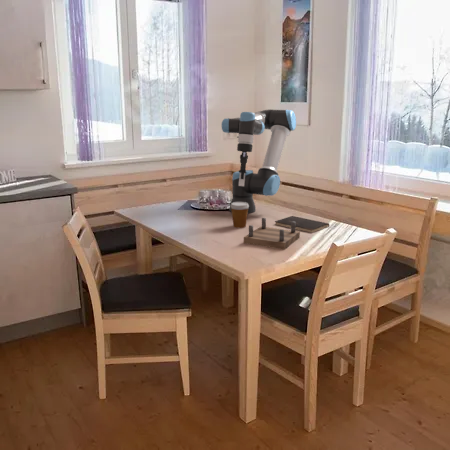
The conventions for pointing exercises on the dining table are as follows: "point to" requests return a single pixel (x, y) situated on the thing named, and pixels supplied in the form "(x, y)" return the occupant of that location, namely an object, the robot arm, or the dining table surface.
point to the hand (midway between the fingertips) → (241, 185)
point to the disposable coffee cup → (239, 214)
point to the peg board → (272, 236)
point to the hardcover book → (302, 224)
